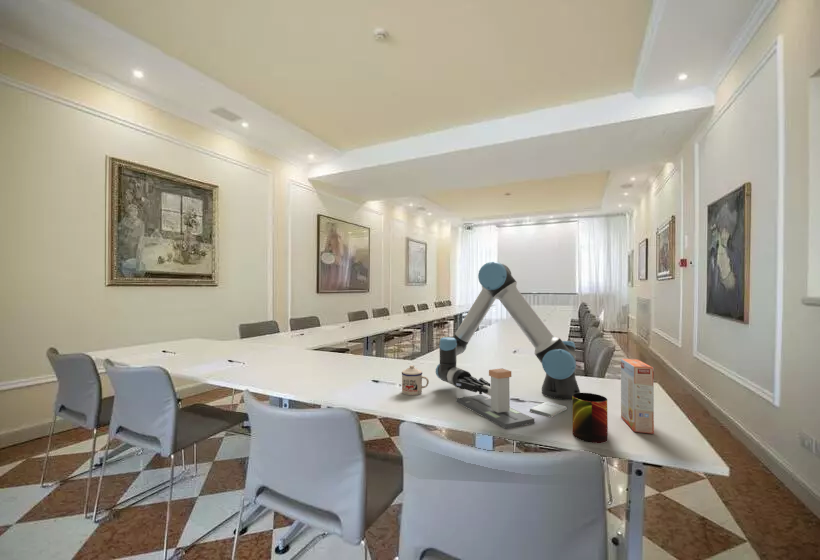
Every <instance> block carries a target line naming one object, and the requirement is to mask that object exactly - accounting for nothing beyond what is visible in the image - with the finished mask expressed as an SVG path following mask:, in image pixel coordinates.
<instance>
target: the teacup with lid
mask: <svg viewBox="0 0 820 560" xmlns="http://www.w3.org/2000/svg"><path fill="white" fill-rule="evenodd" d="M423 379H424V380H426V384H425V385H423V382H422V381H423ZM429 383H430V382H429V378H428V377H427V376H423V371H422V370H420V369H418V368H416V367H415V366H414V365H412V364H411V365H409V367H408V368H406V369H403V370H402V371H401V393H402V394H404V395H406V396H418V395H421V394H422V393H423V389H426V388H427V387H428V386H429Z"/></svg>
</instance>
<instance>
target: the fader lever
mask: <svg viewBox="0 0 820 560" xmlns="http://www.w3.org/2000/svg"><path fill="white" fill-rule="evenodd" d="M488 376H489V377H490V387H491V396H490V399H491V410H493V411H495V412H497V413H500V412H506V411H510V408H511V407H510V405H511V404H510V400H511V399H510V378H511V377H512V370H509V369H506V368H494V369H488Z"/></svg>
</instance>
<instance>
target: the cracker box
mask: <svg viewBox="0 0 820 560" xmlns="http://www.w3.org/2000/svg"><path fill="white" fill-rule="evenodd" d="M654 370H655V369H654V367H653V366H651V365H649V364H648V363H645V361H641V360H640V359H637V358H620V417H621V419H622V420H623V421H624V422H625V424H626V425H627V426H628V427H630V429H631V430H632V431H633V432H634V433H640V434H641V433H642V434H651V435H653V434H655V425H654V423H655V421H654V419H655V417H654V416H655V415H654V414H655V412H654V407H655V405H654V404H655V403H654V402H655V399H654V395H655V394H654V382H655V381H654V380H655V379H654V376H655V375H654Z"/></svg>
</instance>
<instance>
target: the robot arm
mask: <svg viewBox="0 0 820 560" xmlns="http://www.w3.org/2000/svg"><path fill="white" fill-rule="evenodd" d="M477 278H478V282H479V284H480V285H481V290H480V292H479V294H478V295H477V297H476V298H475V300H474V301H473V303H472V305H471V307H470V309H469V310H468V312H467V314H466V315H465V317H464V319H463V320H462V322H461V324H460V325H459V326H458V328H457V329H456V331H455V332H454V334H453V336H452V337H451V336H448V337H446V336H445V337H440V339H439V345H438V347H439V363H438V365H436V368H435V375H436V376H437V378H438V379H439V380H441V381H443V382H445V383H448V384H450V385H452V386H454V387H455V388H458V389H460V390H466V391H469V392H472V393H478V395H483V394H485V395H488V396H490V397H491V382H490V383H489V382H488V381H487V380H485V379H484V378H483V377H480V378H478V379H477V377H474V376H472V375H471V373H470V372H469V371H468V370H464V369H463V368H460V367H457V356H459V355H461V354H464V352H465V351H466V349H467V345H468V344H469V342H470V341H471V339H472V337H473V336H474V335H475V332H476V331H477V329H478V328H479V326H480V325H481V323H482V322H483V320H484V319H485V317H486V315H487V313H488V312H489V311H490V309H491V308H492V306H493V305H494V303H495V301H496V300H499V301H500V303H501V305H502V306H503V307H504V308H505V309H506V311H507V312H508V314H509V315H510V316H511V318H512V319H513V321H514V322H515V323H516V325H517V326H518V327H519V328H520V330H521V331H522V332H523V334H524V335H525V337H526V338H527V339H528V341H529V342H530V344H531V345H532V346H533V347H534V355H535V356H536V358H537V359H538V360H539V362H540V363H541V366H542V369H543V372H544V373H545V378H544V379H543V383H542V385H541V394H542V395H543V396H545V397H548V398H551V399H555V400H556V399H557V400H563V401H564V400H565V401H567V400H569V401H572V395H573V394H575V393H581V390H580V387H579V384H578V381H577V378H576V368H577V361H576V344H575V342H574V341H571V340H570V341H569V340H568V341H567V340H562V339H561V338H560V337H559V336H554V335H553V333H552V332H551V331H550V330H549V329H548V327H547V326H546V325H545V323H544V322H543V321H542V320H541V318H540V317H539V316H538V314H537V312H536V311H535V310H534V309H533V308H532V306H531V304H529V302H528V301H527V300H526V298H525V297H524V296H523V294H522V293H521V292H520V290H519V289H518V288H517V283H518V282H517V281H516V279H515V278H514V277H513V275H512V272H511V269H510V268H509V267H508V266H507V265H506V264H504V263H501V262H500V261H489V262H486V263H485V264H483V265H482V266H481V267H480V268H479V270H478V276H477Z"/></svg>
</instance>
